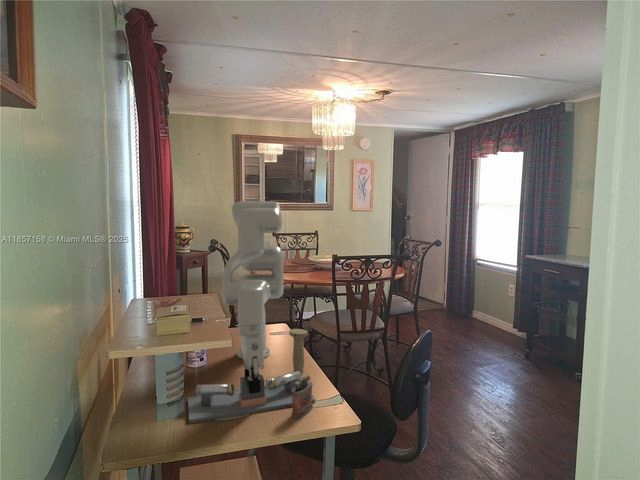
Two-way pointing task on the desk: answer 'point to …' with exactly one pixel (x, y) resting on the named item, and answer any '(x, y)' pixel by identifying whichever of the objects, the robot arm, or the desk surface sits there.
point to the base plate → (238, 405)
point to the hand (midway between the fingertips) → (252, 386)
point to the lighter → (302, 397)
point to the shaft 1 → (213, 392)
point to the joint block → (245, 388)
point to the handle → (298, 348)
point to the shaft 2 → (284, 381)
